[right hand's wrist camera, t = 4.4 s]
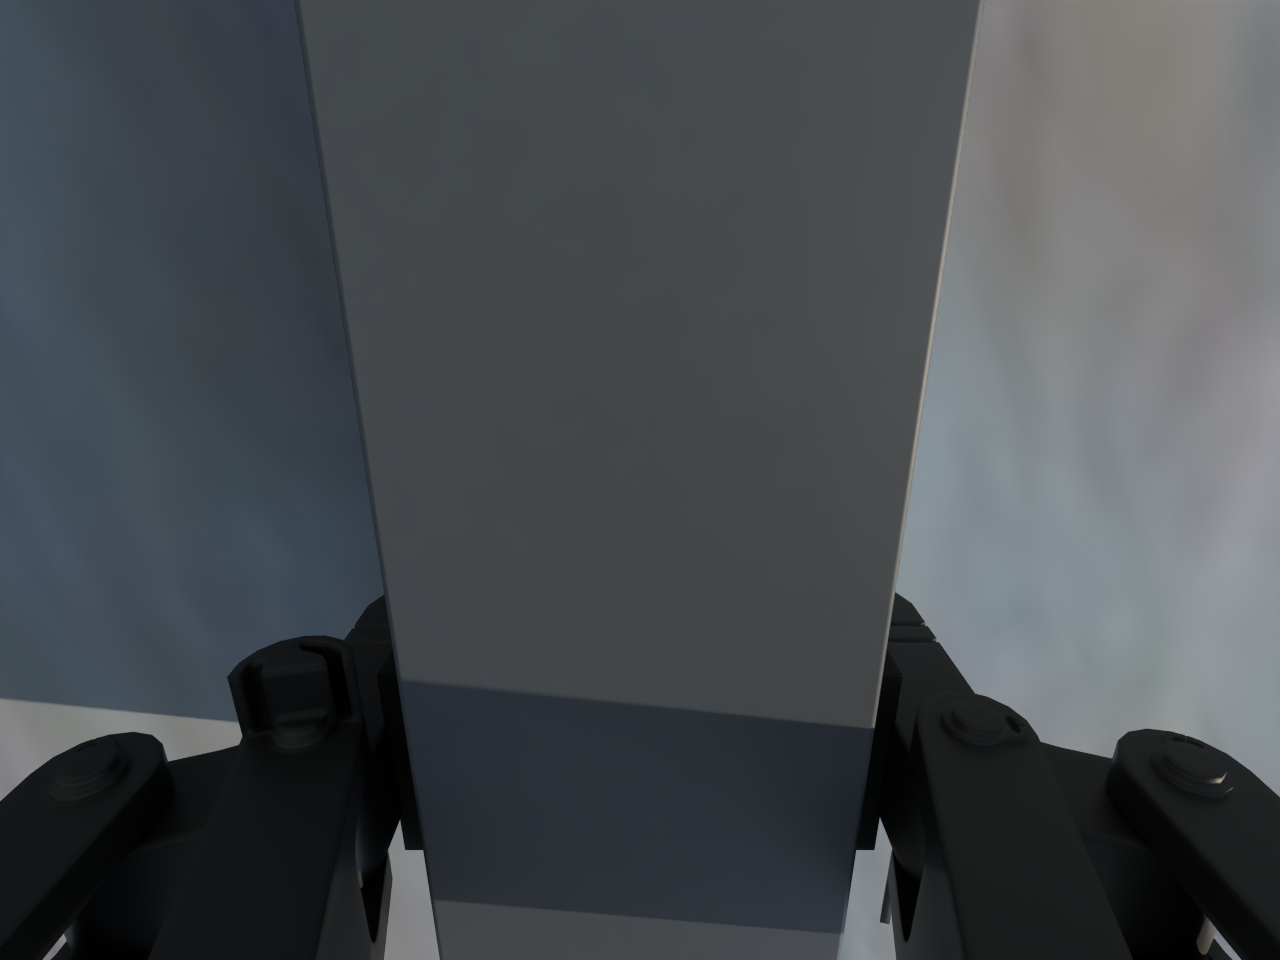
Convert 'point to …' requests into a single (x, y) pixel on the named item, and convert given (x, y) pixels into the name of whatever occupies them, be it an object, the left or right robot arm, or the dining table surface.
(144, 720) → the dining table surface
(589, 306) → the post
